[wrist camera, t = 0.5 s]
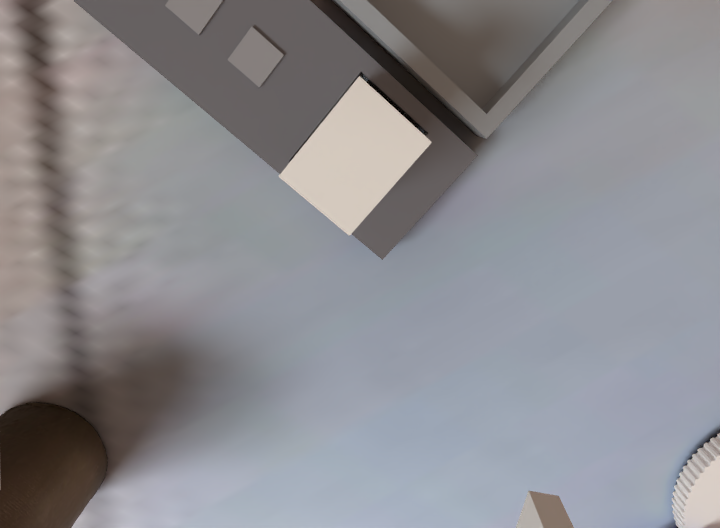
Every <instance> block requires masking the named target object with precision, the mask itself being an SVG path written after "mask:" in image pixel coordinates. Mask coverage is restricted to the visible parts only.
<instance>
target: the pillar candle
mask: <svg viewBox="0 0 720 528" xmlns="http://www.w3.org/2000/svg"><path fill="white" fill-rule="evenodd" d="M106 471H107V455H106V450H105V448H104V446H103V444H102V441H101V439H100V437H99V436H98V434H97V432H96V431H95V429H94V428H93V427H92V426H91V425H90V424H89V423H88V422H86V420H85V419H83V418H82V417H80V416H79V415H77V414H76V413H75V412H71V411H70V410H68V409H65V408H63V407H60V406H57V405H50V404H45V403H44V404H43V403H26V404H25V405H21V406H19V407H16V408H11V409H9V410H7V411H6V412H5V413H4V414H2V415H1V416H0V483H1V490H0V528H71V527H72V526H73V524H74V523H75V521H76V520H77V518H78V517H79V515H80V514H81V513H82V511H83V510H84V508H85V507H86V505H87V504H88V502H89V501H90V499H92V497H93V496H94V495H95V493H96V492H97V490H98V489H99V487H100V485H101V483H102V482H103V480H104V477H105V475H106Z"/></svg>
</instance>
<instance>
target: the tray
mask: <svg viewBox="0 0 720 528" xmlns="http://www.w3.org/2000/svg"><path fill="white" fill-rule="evenodd" d="M332 1H333V2H334V3H335V4H336V5H337V6H339V7H340V8H341V9H342V10H343V11H344V12H345V13H346V14H347V15H348V16H349V17H350V18H351V19H352V20H353V21H355V22H356V23H357V24H358V25H359V26H360V27H361V28H362V29H363V30H364V31H365V32H366V33H367V34H368V35H370V36H371V37H372V38H373V39H374V40H375V41H376V42H377V43H378V44H379V45H380V46H381V47H382V48H383V49H385V50H386V51H387V52H388V53H389V54H390V55H391V56H392V57H393V58H394V59H395V60H396V61H397V62H398V63H399V64H401V65H402V66H403V67H404V68H405V69H406V70H407V71H408V72H409V73H410V74H411V75H412V76H413V77H414V78H416V79H417V80H418V81H419V82H420V83H421V84H422V85H423V86H424V87H425V88H426V89H427V90H428V91H429V92H430V93H432V94H433V95H434V96H435V97H436V98H437V99H438V100H439V101H440V102H441V103H442V104H443V105H444V106H445V107H447V108H448V109H449V110H450V111H451V112H452V113H453V114H454V115H455V116H456V117H457V118H458V119H459V120H460V121H462V122H463V123H464V124H465V125H466V126H467V127H468V128H469V129H470V130H471V131H472V132H473V133H474V134H475V135H476V136H479V137H483V138H488V137H489V136H490V135H491V133H492V132H493V131H494V130H495V129H496V128H497V127H498V126H499V125H500V124H501V122H502V121H503V120H504V119H505V118H506V117H507V116H508V115H509V114H510V113H511V112H512V110H513V109H514V108H515V107H516V106H517V105H518V104H519V103H520V102H521V101H522V99H523V98H524V97H525V96H526V95H527V94H528V93H529V92H530V91H531V90H532V88H533V87H534V86H535V85H536V84H537V83H538V82H539V81H540V80H541V79H542V77H543V76H544V75H545V74H546V73H547V72H548V71H549V70H550V69H551V68H552V67H553V65H554V64H555V63H556V62H557V61H558V60H559V59H560V58H561V57H562V56H563V54H564V53H565V52H566V51H567V50H568V49H569V48H570V47H571V46H572V45H573V43H574V42H575V41H576V40H577V39H578V38H579V37H580V36H581V35H582V34H583V32H584V31H585V30H586V29H587V28H588V27H589V26H590V25H591V24H592V23H593V21H594V20H595V19H596V18H597V17H598V16H599V15H600V14H601V13H602V12H603V11H604V9H605V8H606V7H607V6H608V5H609V4H610V3H611V2H612V1H613V0H332Z"/></svg>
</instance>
